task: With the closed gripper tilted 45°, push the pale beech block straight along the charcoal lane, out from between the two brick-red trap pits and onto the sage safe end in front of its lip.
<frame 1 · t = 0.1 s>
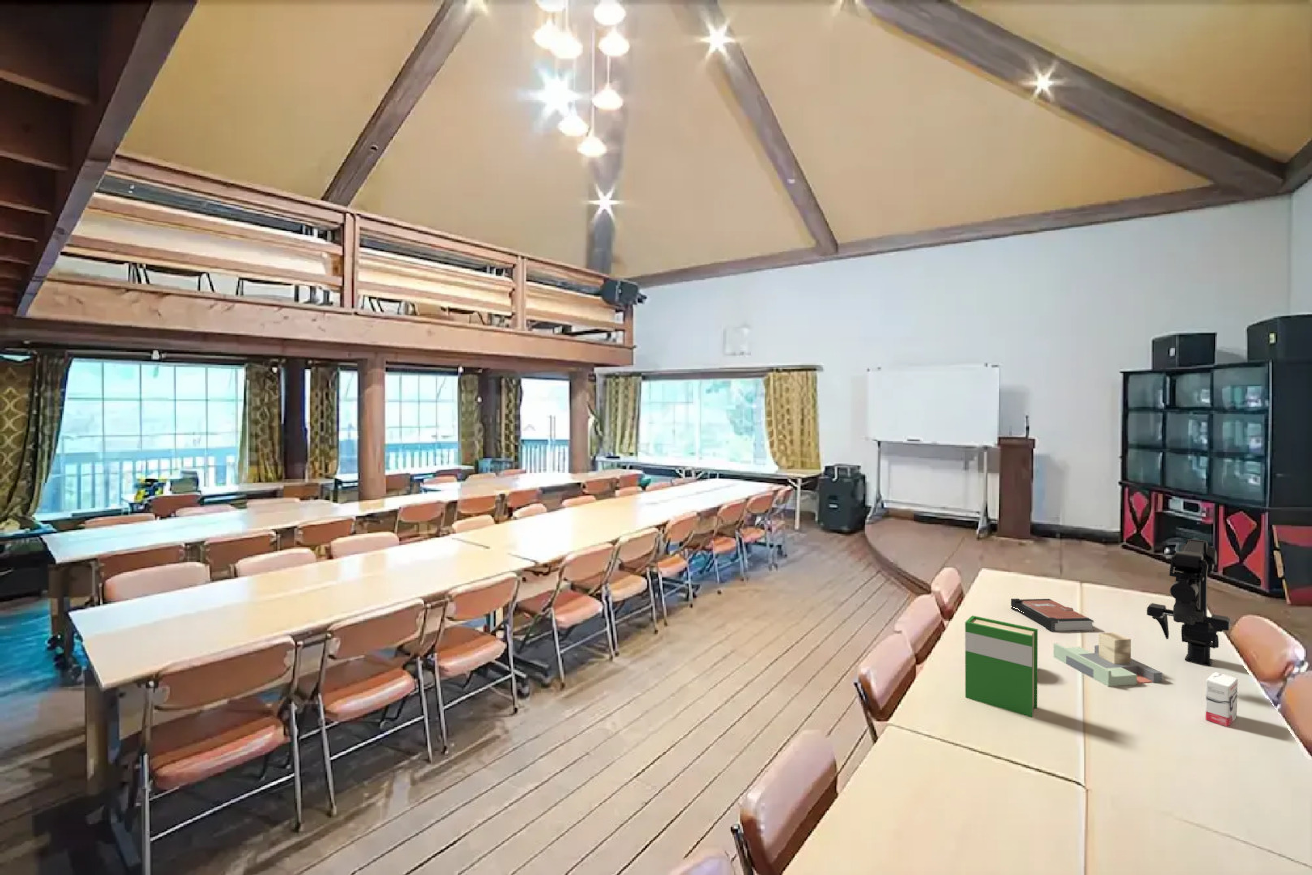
hand: (1186, 643, 179), 15 cm above the table, tool pointing down, fingers open, 9 cm apart
book: (1051, 620, 240), on the table
beech block: (1114, 659, 195), point 3 cm above the table, touching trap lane
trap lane: (1114, 667, 195), on the table
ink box: (1221, 719, 163), on the table
hardback book: (1000, 703, 175), on the table
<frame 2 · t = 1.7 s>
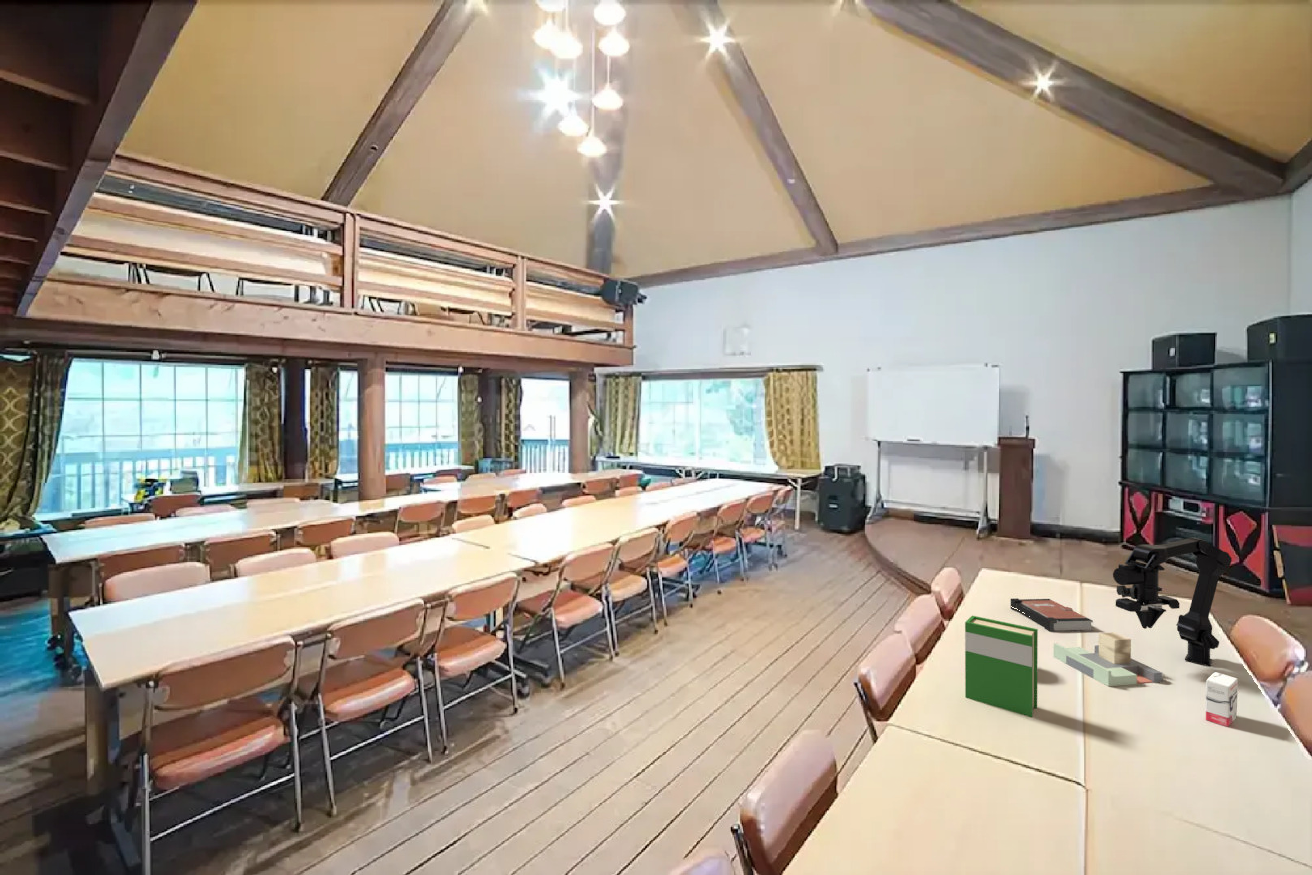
hand: (1146, 628, 196), 13 cm above the table, tool pointing down, fingers closed
nothing on the table moved.
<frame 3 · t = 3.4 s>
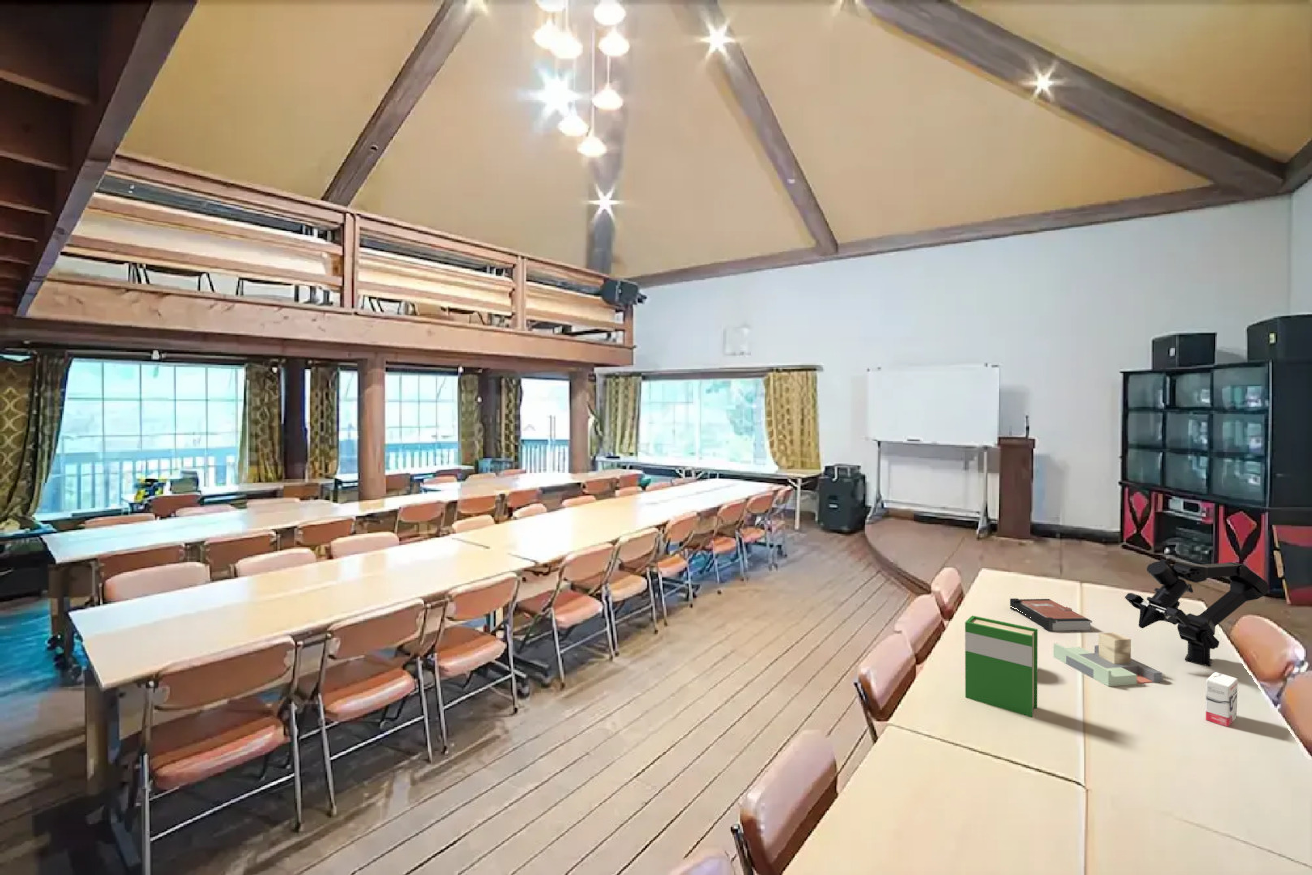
hand: (1140, 627, 195), 13 cm above the table, tool tilted 45°, fingers closed
nothing on the table moved.
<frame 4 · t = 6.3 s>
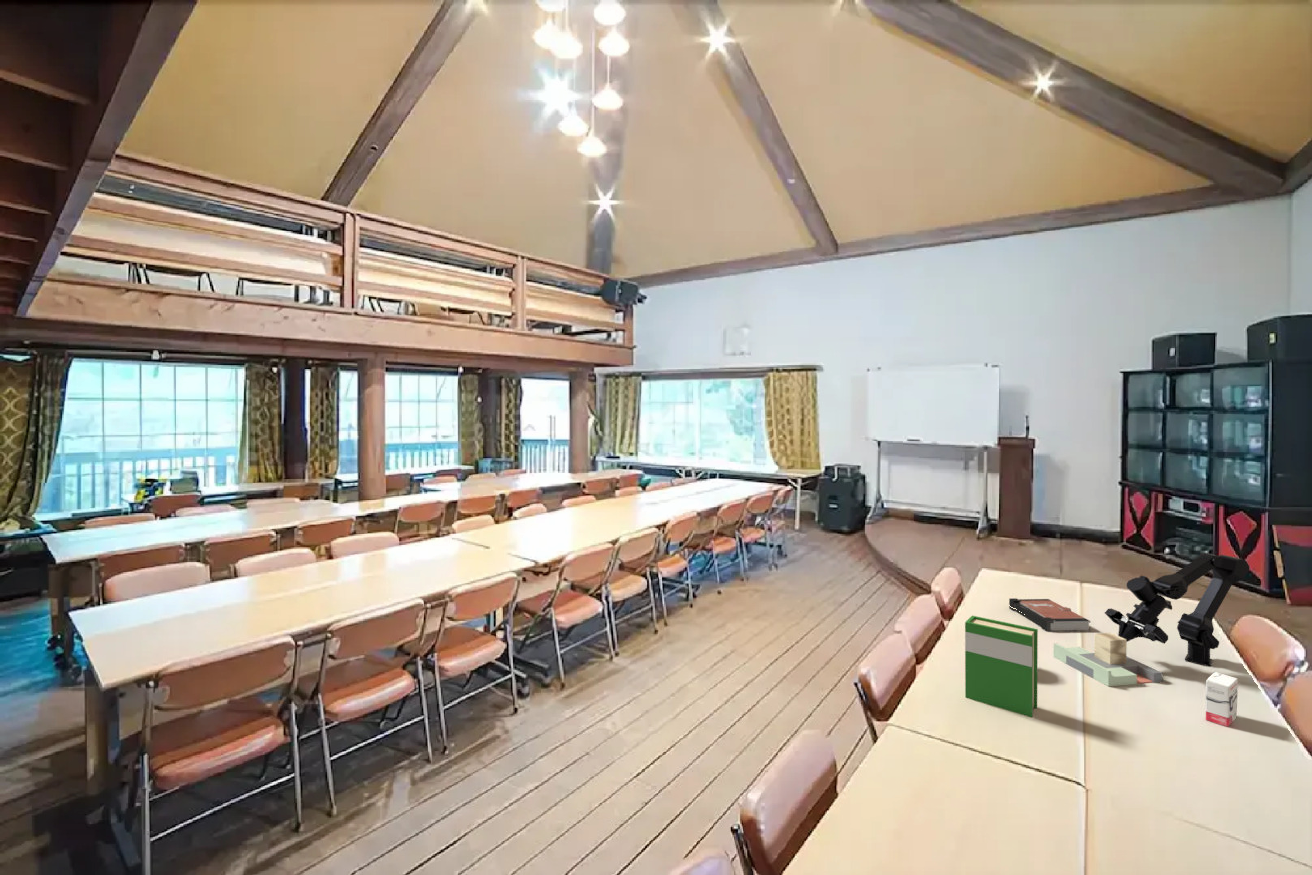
hand: (1119, 643, 195), 8 cm above the table, tool tilted 45°, fingers closed, pressing on beech block
beech block: (1110, 659, 195), point 3 cm above the table, touching gripper, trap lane
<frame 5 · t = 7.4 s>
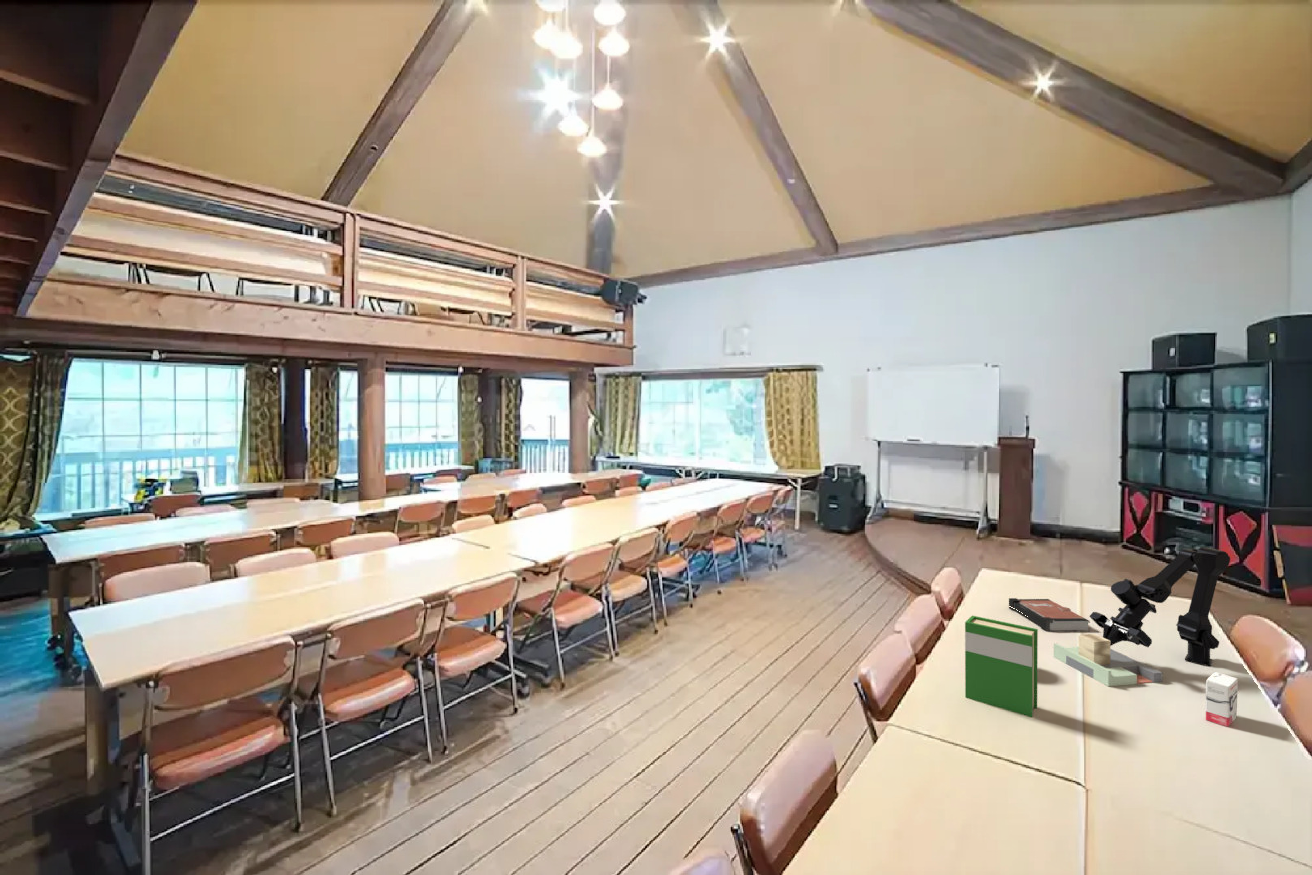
hand: (1103, 647, 194), 8 cm above the table, tool tilted 45°, fingers closed, pressing on beech block
beech block: (1094, 660, 194), point 3 cm above the table, touching gripper, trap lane
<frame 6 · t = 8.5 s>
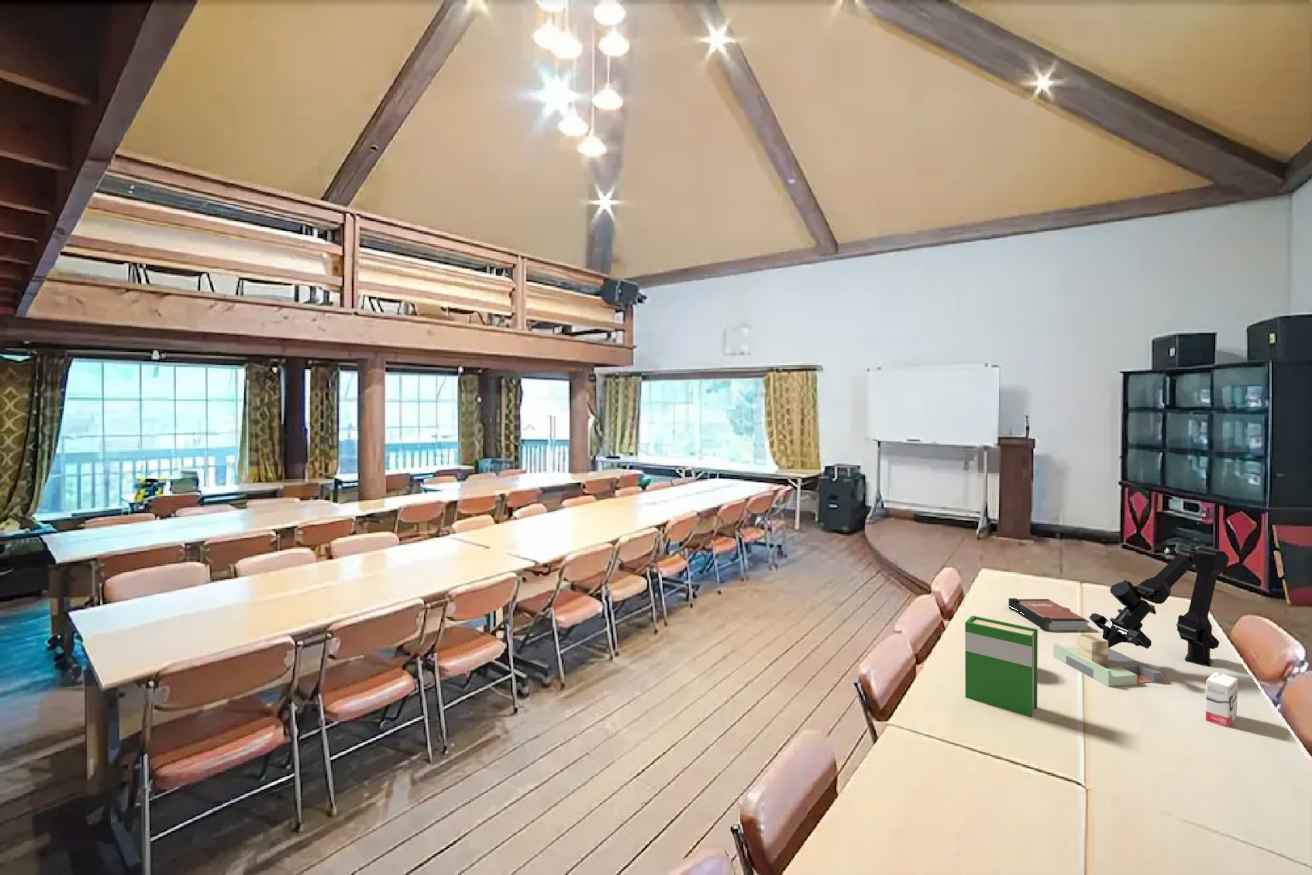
hand: (1103, 648, 194), 7 cm above the table, tool tilted 45°, fingers closed
beech block: (1092, 661, 194), point 3 cm above the table, touching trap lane
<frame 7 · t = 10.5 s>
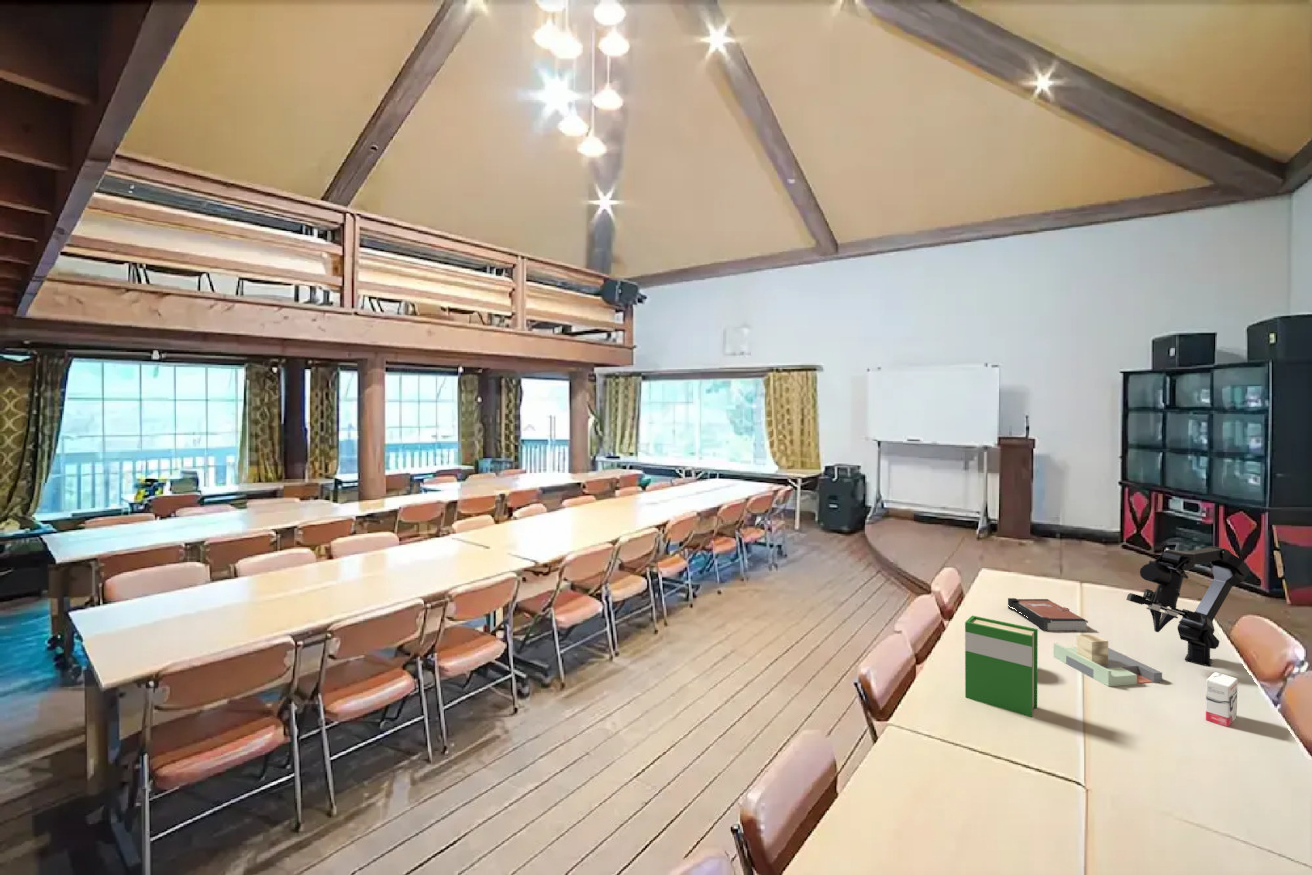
hand: (1156, 631, 194), 12 cm above the table, tool tilted 20°, fingers closed
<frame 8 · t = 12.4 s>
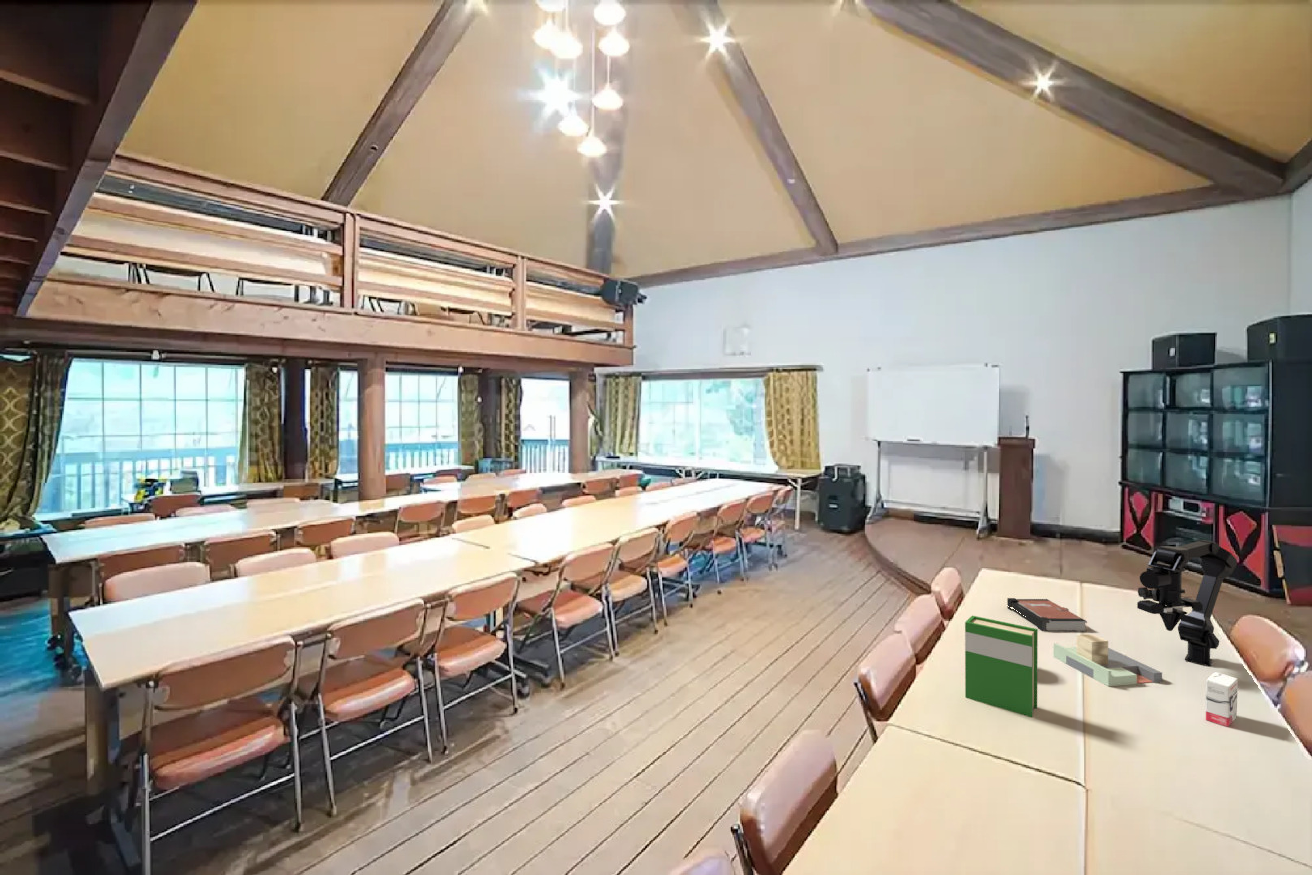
hand: (1169, 630, 193), 13 cm above the table, tool pointing down, fingers closed
at the end: beech block inside the target area (0.1 cm from its centre), point 3.0 cm above the table; beech block tilted 0° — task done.
